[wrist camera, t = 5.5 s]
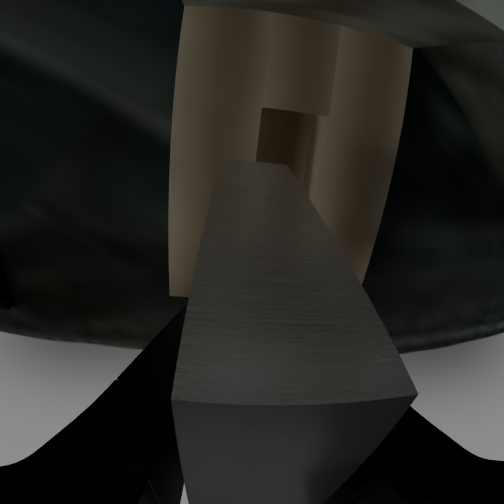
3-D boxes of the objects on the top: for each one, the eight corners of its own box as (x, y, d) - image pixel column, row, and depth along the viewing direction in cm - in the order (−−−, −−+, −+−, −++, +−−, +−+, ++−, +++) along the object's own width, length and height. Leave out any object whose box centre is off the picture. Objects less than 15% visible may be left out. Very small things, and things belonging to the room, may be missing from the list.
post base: (178, 263, 23) (146, 402, 12) (196, 0, 14) (158, -101, 4) (338, 272, 24) (401, 397, 13) (384, 32, 16) (518, 6, 5)
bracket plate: (209, 319, 12) (195, 535, 5) (220, 158, 9) (171, 399, 2) (262, 322, 12) (284, 534, 5) (287, 164, 9) (418, 393, 2)
